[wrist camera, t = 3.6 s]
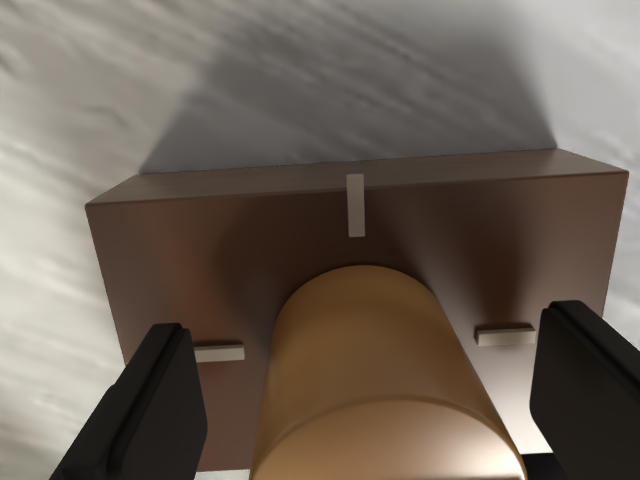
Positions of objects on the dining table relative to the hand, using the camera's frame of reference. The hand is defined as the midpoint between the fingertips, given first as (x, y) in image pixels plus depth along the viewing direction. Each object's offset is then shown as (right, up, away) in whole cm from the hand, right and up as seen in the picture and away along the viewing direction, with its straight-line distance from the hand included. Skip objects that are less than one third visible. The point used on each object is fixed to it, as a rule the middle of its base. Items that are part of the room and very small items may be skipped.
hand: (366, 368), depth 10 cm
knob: (0, 0, +1) cm, 1 cm away
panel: (0, +1, +4) cm, 4 cm away
